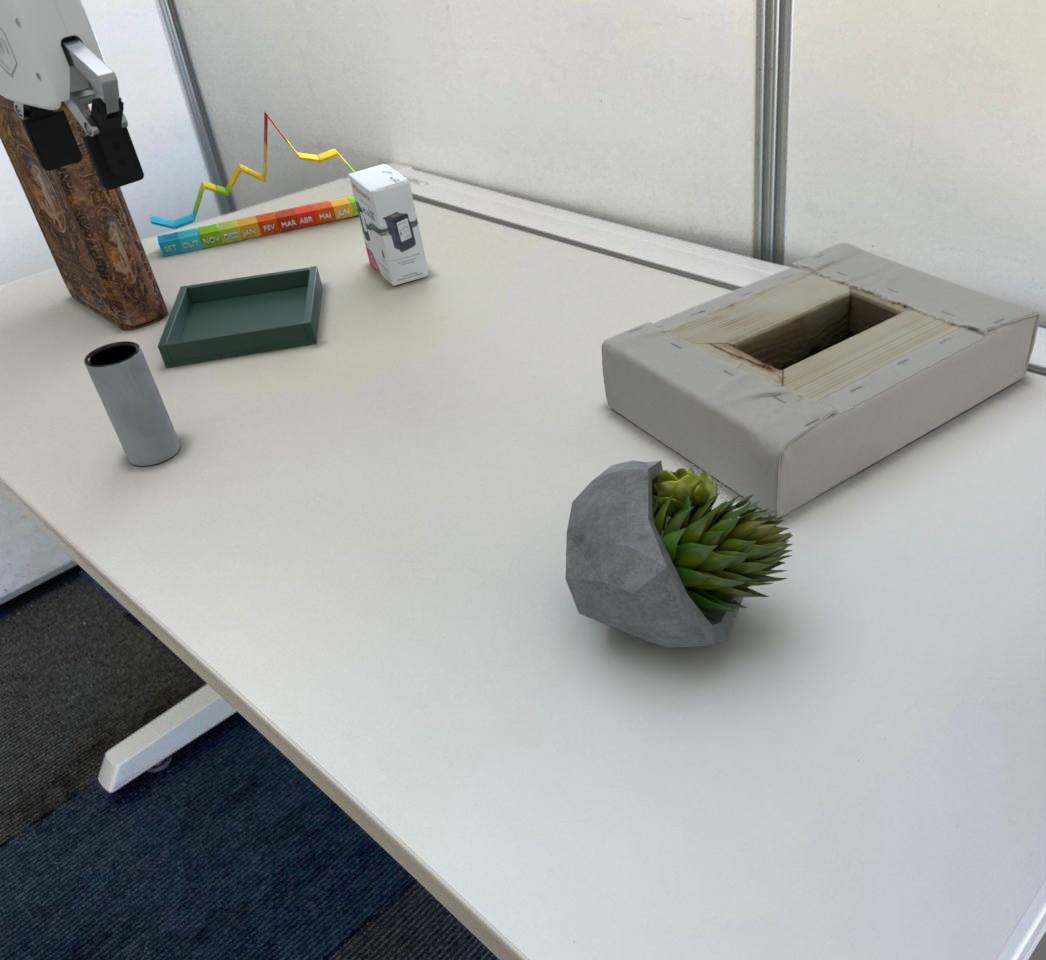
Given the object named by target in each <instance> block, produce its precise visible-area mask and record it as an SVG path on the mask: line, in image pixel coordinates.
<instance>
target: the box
mask: <svg viewBox="0 0 1046 960" xmlns="http://www.w3.org/2000/svg"><path fill="white" fill-rule="evenodd" d="M1040 317H1041V315H1040V313H1039V312H1038V311H1036V310H1035V309H1032V308H1029V307H1025V306H1021V305H1018V304H1016V303H1013V302H1008V301H1004V300H1002V299H1000V298H997V297H994V296H991V295H988V294H985V293H982V292H980V291H977V290H974V289H971V288H968V287H965V286H963V285H960V284H957V283H955V282H952V281H949V280H946V279H944V278H941V277H938V276H935V275H933V274H929V273H927V272H924V271H921V270H919V269H915V268H914V267H911V266H908V265H905V264H902V263H899V262H897V261H894V260H891V259H888V258H886V257H883V256H880V255H877V254H874V253H872V252H870V251H866V250H864V249H863V248H861V247H857V246H855V245H853V244H850V243H848V242H839V243H837V244H834V245H831V246H829V247H827V248H825V249H823V250H821V251H818V252H817V253H814V254H813V255H811V256H808V257H806V258H802V259H798V260H797V261H794V262H792V264H791V265H790V267H789V268H786V269H784V270H781V271H778V272H776V273H774V274H771V275H769V276H767V277H764V278H762V279H759V280H756V281H754V282H751V283H749V284H747V285H744V286H742V287H739V288H736V289H734V290H732V291H729V292H727V293H724V294H722V295H719V296H717V297H715V298H712V299H709V300H706V301H705V302H702V303H700V304H697V305H694V306H692V307H690V308H687V309H685V310H682V311H679V312H678V313H675V314H672V315H669V316H668V317H666V318H663V319H660V320H658V321H656V322H650V321H649V322H645V323H643V324H640V325H637V326H635V327H633V328H631V329H628V330H625V331H623V332H620V333H617V334H616V335H613V336H611V337H608V338H606V339H604V341H603V342H602V343H601V365H602V367H601V368H602V377H603V385H604V392H605V398H606V402H607V405H608V406H609V407H610V408H611V410H613V411H615V412H616V413H618V414H619V415H620V416H622V417H623V418H625V419H626V420H628V421H629V422H631V423H633V424H634V425H636V426H637V427H638V428H640V429H641V430H643V431H644V432H646V433H647V434H649V436H652V437H653V438H654V439H656V440H658V441H659V442H661V443H662V444H663V445H664V446H666V447H668V448H670V449H671V450H673V451H674V452H676V453H677V454H679V455H680V456H681V457H683V458H684V459H686V460H688V461H689V462H691V464H693V465H695V466H696V467H698V468H699V469H701V470H703V472H706V473H708V474H710V475H711V477H712V478H714V479H716V481H719V482H720V483H721V484H723V485H724V486H726V487H728V488H729V489H730V490H732V491H734V492H735V493H736V494H738V495H740V497H742V498H745V497H747V496H750V495H752V494H754V495H753V496H752V497H751V498H750V499H749V501H748V502H749V503H751V502H752V503H754V502H758V501H761V502H759V503H757V504H755V505H754V506H756V507H759V508H758V509H760V510H765V509H769V510H767V511H766V512H768V511H774V510H777V511H775V512H773V513H770V514H769V516H776V517H775V518H774V519H780V518H782V517H784V516H786V515H787V514H789V513H790V512H792V511H794V510H796V509H798V508H799V507H802V505H805V504H806V503H808V502H809V501H811V500H813V499H815V498H816V497H818V496H820V495H821V494H823V493H825V492H827V491H829V490H830V489H832V488H834V487H836V486H837V485H839V484H840V483H843V482H844V481H846V480H848V479H850V478H852V477H853V476H855V475H856V474H858V473H860V472H861V471H863V470H865V469H867V468H868V467H870V466H873V465H874V464H876V463H878V462H879V461H881V460H882V459H884V458H886V457H888V456H889V455H892V454H893V453H895V452H897V451H898V450H901V449H902V448H904V447H905V446H907V445H909V444H911V443H912V442H914V441H916V440H917V439H919V438H921V437H923V436H924V435H926V434H927V433H929V432H931V431H933V430H935V429H937V428H938V427H940V426H942V425H943V424H945V423H947V422H949V421H950V420H953V419H954V418H955V417H957V416H959V415H961V414H963V413H964V412H966V411H967V410H969V409H971V408H973V407H975V406H977V405H979V404H980V403H982V402H983V401H985V400H987V399H989V398H990V397H992V396H994V395H995V394H997V393H999V392H1001V391H1002V390H1005V389H1006V388H1008V387H1010V386H1011V385H1012V384H1014V383H1017V382H1018V381H1020V380H1022V379H1023V378H1024V377H1025V375H1026V374H1027V371H1028V368H1029V364H1030V360H1031V357H1032V354H1033V350H1034V347H1035V344H1036V340H1037V339H1036V338H1037V334H1038V329H1039V328H1038V327H1039V323H1040ZM1020 372H1021V373H1020ZM1017 374H1018V375H1017ZM1015 375H1016V376H1015ZM752 503H751V504H752Z"/></svg>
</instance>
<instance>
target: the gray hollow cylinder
mask: <svg viewBox="0 0 1046 960" xmlns="http://www.w3.org/2000/svg"><path fill="white" fill-rule="evenodd" d="M143 352H144V351H143V350H142V347H141V345H140V344H139V343H138V342H134V341H127V340H125V341H124V340H123V341H116V342H111V343H107V344H103V345H101V346H99V347H96V348H95V349H93V350H92V351H90V352H89V353H87V354H86V356H84V359H83V363H84V366H85V368H86V370H87V372H88V375H89V377H90V379H91V381H92V383H93V385H94V388H95V390H96V393H97V395H98V396H99V399H100V401H101V403H102V406H103V407H104V410H105V412H106V415H107V417H108V418H109V421H110V423H111V426H112V427H113V430H114V432H115V434H116V436H117V438H118V440H119V442H120V445H121V447H122V450H123V451H124V454H125V456H126V458H127V459H128V461H129V463H131V464H132V465H134V466H138V467H149V466H154V465H158V464H161V463H163V462H166V461H167V460H169V459H171V458H172V457H174V456H175V455H176V454H177V453H178V452H179V451H180V448H181V443H180V440H179V437H178V433H177V431H176V430H175V427H174V425H173V422H172V420H171V417H170V414H169V413H168V410H167V407H166V404H165V403H164V400H163V398H162V395H161V393H160V391H159V388H158V386H157V384H156V381H155V378H154V376H153V373H152V372H151V369H150V366H149V364H148V361H147V360H146V357H145V354H144V353H143Z"/></svg>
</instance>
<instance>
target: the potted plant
mask: <svg viewBox="0 0 1046 960" xmlns="http://www.w3.org/2000/svg"><path fill="white" fill-rule="evenodd" d="M718 490H719V487H718V482H717V481H714V480H713V476H711V475H710V474H708V473H707V472H705V471H703V472H699V473H698V474H696V471H695V470H694V468H693V467H692V466H691V465H689V466H688V469H687V468H684V467H679V468H677V469H676V470H675V471H670V470H668V469H664V467H663V463H662V460H654V461H639V460H628V461H627V460H626V461H624V462H619V463H616V464H611V465H609V467H608V468H607V469H605V470H604V471H603V472H601V473H600V474H598V475H597V476H596V477H595V478H594V479H592V481H590V482H589V483H588V485H587V486H585V488H584V489H583V490H582V491H581V492H580V493H579V494H578V495H577V496H576V497H575V499H573V501H572V502H571V507H570V512H569V518H568V523H567V529H566V546H565V578H564V579H565V581H566V583H567V586H568V590H569V591H570V595H571V597H572V599H573V602H574V605H575V607H576V610H577V612H578V614H579V615H582V616H583V617H586V618H589V619H591V620H594V621H597V622H599V623H600V624H604V625H607V626H609V627H610V628H613V629H616V630H619V631H621V632H623V633H626V634H628V635H631V636H633V637H636V638H637V639H640V640H643V641H645V642H648V643H651V644H654V645H658V646H661V647H662V648H663V647H664V648H667V649H668V648H670V649H671V648H685V647H707V646H715V645H717V644H720V643H723V642H726V641H728V640H729V637H730V635H731V633H732V630H733V627H734V623H735V621H736V618H737V616H738V613H739V610H740V609H746V608H748V607H747V606H746V605H743V604H742V602H743V601H744V600H743V599H744V598H769V595H767V594H765V593H764V594H763V593H761V592H759V591H757V590H755V589H752V588H750V587H753V586H757V587H759V586H768V585H773V584H774V582H780V581H784V580H787V579H788V578H787V577H776V576H771V575H773V574H777V573H778V574H779V573H783V572H788V570H787V569H775V568H777V567H779V566H781V565H784V564H786V562H785V561H783V560H784V559H787V558H790V557H792V556H793V554H788V553H790V552H792V551H793V549H788V548H789V547H790V546H793V543H789V542H790V539H791V538H792V537H793V536H794V535H793V533H792V531H790V532H786V533H783V532H784V531H786V530H789V529H790V527H784V526H778V525H780V524H782V522H784V521H785V519H776V518H775V517H776V516H771V515H770V513H773V512H775V511H777V510H774V511H768V512H766V511H767V510H769V509H765V510H762V509H760V508H759V507H757V506H756V505H755V504H757V503H759V502H761V501H758V502H754V503H752V502H750V501H749V499H750V498H751V497H752V496H753V495H754V494H752V495H750V496H747V497H745V498H744V497H742V498H741V499H739V500H738V501H736V500H737V499H738V498H739V497H741V495H740V494H738V495H737V496H734V497H732V498H730V499H728V500H725V501H723V502H721V503H720V504H719V505H717V506H715V507H714V505H715V503H716V502H717V499H718V496H719V495H720V494H721V491H720V492H718ZM748 502H749V503H748ZM754 506H756V507H754ZM713 507H714V508H713ZM759 509H760V510H759ZM767 515H769V516H767ZM785 554H788V555H785Z"/></svg>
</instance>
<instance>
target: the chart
mask: <svg viewBox="0 0 1046 960" xmlns="http://www.w3.org/2000/svg"><path fill="white" fill-rule="evenodd" d="M263 113H264V115H263V121H264V122H263V159H262V160H263V162H262V163H263V164H262V165H263V167H262V174H261V173H259V172H258V171H255V170H254V169H251V168H250V167H248V166H246V165H244V164H241V163H237V165H236V167H235V169H234V171H233V173H232V175H231V177H230V178H229V180H228V182H227V184H226V186H225V187H224V186H221V185H218V184H215V183H212V182H208V181H205V180H202V181H201V183H200V186H199V189H198V192H197V196H196V200H195V203H194V207H193V209H192V213H189V214H186V215H184V216H182V217H179V218H177V219H174V220H172V219H168V218H164V217H161V216H160V217H159V216H155V215H153V214H152V215H151V214H149V219H150V221H149V222H150V224H152V225H155V226H158V227H159V226H160V227H163V228H167V229H172V230H177V229H180V228H183V227H185V226H188V225H191V224H193V223H195V222H196V218H197V214H198V212H199V209H200V206H201V203H202V199H203V196H204V192H205V190H207V191H210V192H214V193H217V194H219V195H220V194H221V195H224V196H225V197H227V196H228V197H229V196H230V194H231V192H232V190H233V189H234V186H235V185H236V182H237V181H238V179H239V177H240V175H241V173H242V172H243V173H244V174H246V175H248V176H250V177H252V178H255V179H256V180H258V181H260V182H263V183H264V184H267V181H268V179H267V177H268V176H267V173H268V171H267V170H268V128H269V127H268V124H269V123H268V121H270V122H271V124H272V125H273V126H274V128H275V129H276V130H277V131H278V133H279V135H281V137H282V138H283V139H284V141H285V142H286V144H287V145H288V146H289V147H290V148H291V149H292V151H293V152H294V154H296V157H298V159H299V161H307V162H314V163H324V162H326V161H329V160H331V159H335V158H336V157H339V158H340V159H341V160H342V161H343V163H344V164H345V165H346V167H348V168H349V170H350V172H351V173H353V172H356V171H355V170H354V169H353V167H352V166H351V165H350V164H349V163H348V161H346V159H344V157H343V156H342V154H340V153H339V152H338V150H337V149H336V148H331V149H328V150H325V151H324V152H321V153H317V154H315V153H314V154H313V153H307V152H299V151H297V150H296V149H295V148H294V146H293V145H292V143H290V141H289V140H288V139H287V137H286V136H285V135H284V134H283V133H282V131H281V130H280V129H279V127H278V125H276V123H275V122H274V121H273V119H272V118H271V116H270V115H269V114H268V113H267V111H264V112H263ZM356 216H359V215H358V211H357V207H356V203H355V199H354V195H348V196H344V197H339V198H334V199H330V200H325V201H320V202H315V203H310V204H306V205H301V206H300V205H299V206H296V207H291V208H286V209H281V210H275V211H271V212H267V213H261V214H257V215H252V216H247V217H243V218H238V219H232V220H227V221H222V222H219V223H214V224H213V223H212V224H209V225H204V226H199V227H193V228H189V229H184V230H179V231H175V232H169V233H165V234H160V235H157V243H158V246H159V249H160V252H161V254H162V257H169V256H173V255H178V254H183V253H188V252H193V251H198V250H202V249H206V248H212V247H216V246H221V245H225V244H230V243H235V242H240V241H244V240H248V239H249V240H250V239H254V238H258V237H259V238H260V237H263V236H267V235H272V234H277V233H283V232H286V231H287V232H288V231H291V230H296V229H300V228H305V227H310V226H315V225H320V224H324V223H329V222H333V221H339V220H342V219H348V218H352V217H356Z"/></svg>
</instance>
